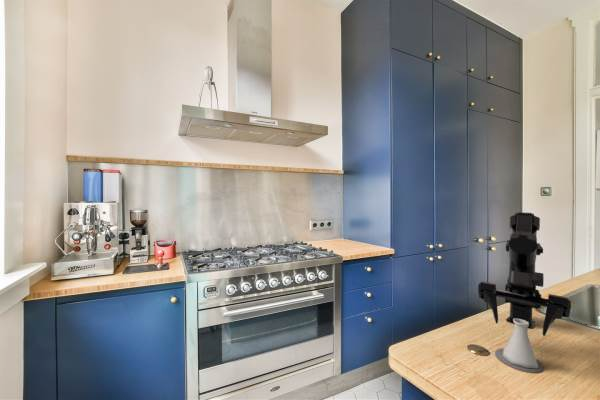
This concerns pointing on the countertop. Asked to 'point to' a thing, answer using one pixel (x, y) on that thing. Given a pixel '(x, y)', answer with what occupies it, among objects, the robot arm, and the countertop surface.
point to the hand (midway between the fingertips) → (519, 328)
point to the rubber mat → (531, 370)
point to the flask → (520, 346)
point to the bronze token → (478, 350)
